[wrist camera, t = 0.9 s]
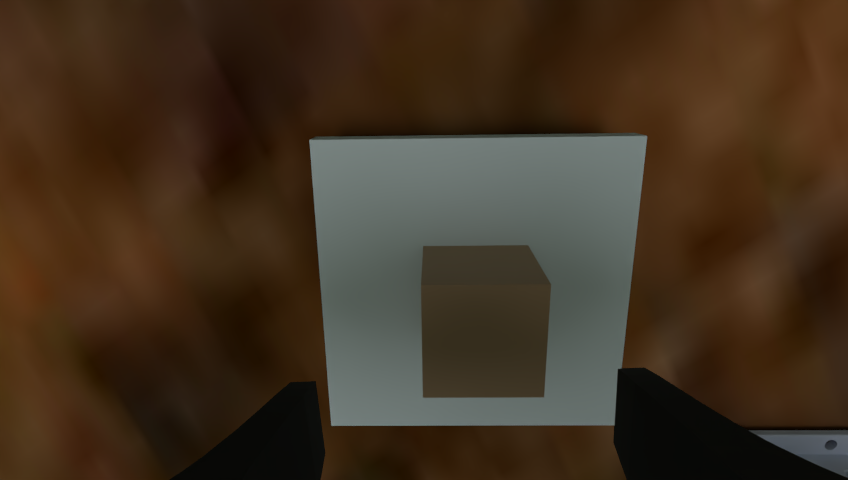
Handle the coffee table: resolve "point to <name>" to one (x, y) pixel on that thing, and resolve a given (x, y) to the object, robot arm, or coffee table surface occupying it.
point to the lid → (475, 275)
